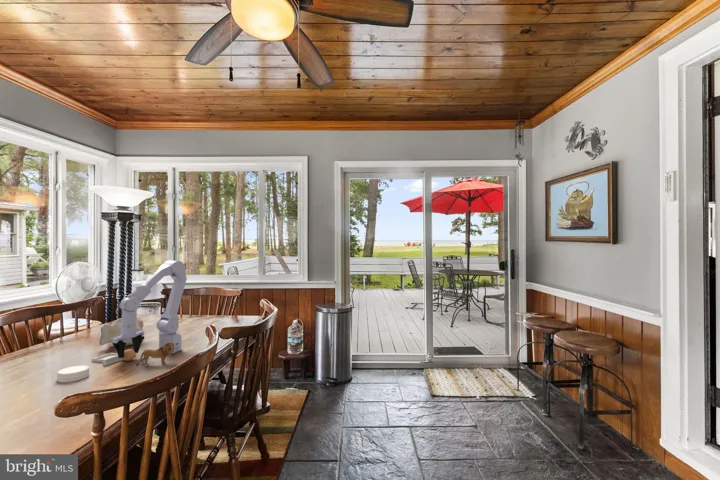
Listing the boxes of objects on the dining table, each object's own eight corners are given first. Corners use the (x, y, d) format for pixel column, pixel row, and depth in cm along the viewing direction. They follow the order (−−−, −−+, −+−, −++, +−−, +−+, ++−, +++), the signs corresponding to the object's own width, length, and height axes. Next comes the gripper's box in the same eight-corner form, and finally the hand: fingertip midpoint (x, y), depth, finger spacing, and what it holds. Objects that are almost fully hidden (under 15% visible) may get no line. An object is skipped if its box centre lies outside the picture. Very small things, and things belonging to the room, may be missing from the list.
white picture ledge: (136, 355, 169) (136, 349, 169) (106, 365, 155) (106, 359, 155) (132, 354, 170) (132, 349, 170) (102, 365, 155) (102, 359, 155)
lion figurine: (174, 360, 162) (174, 340, 163) (174, 363, 158) (174, 343, 158) (136, 365, 156) (136, 344, 156) (134, 368, 151) (135, 347, 151)
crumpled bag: (144, 345, 185) (144, 316, 185) (98, 351, 174) (99, 320, 174) (142, 338, 198) (142, 311, 198) (100, 344, 188) (100, 315, 188)
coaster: (85, 371, 148) (85, 363, 148) (92, 377, 142) (92, 368, 142) (53, 378, 140) (54, 369, 140) (60, 385, 134) (60, 375, 134)
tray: (125, 357, 166) (125, 354, 166) (107, 363, 158) (107, 360, 158) (110, 355, 169) (110, 352, 169) (91, 361, 160) (91, 358, 160)
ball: (138, 359, 163) (138, 348, 163) (128, 362, 158) (128, 351, 159) (129, 358, 165) (129, 347, 165) (119, 361, 160) (119, 350, 160)
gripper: (135, 320, 170) (135, 349, 170) (106, 327, 156) (106, 359, 156) (148, 321, 168) (147, 351, 168) (119, 328, 154) (119, 360, 154)
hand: (128, 355), depth 162 cm, fingers open, 7 cm apart
